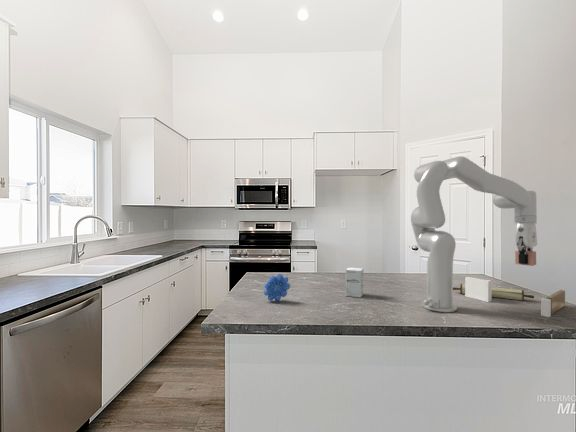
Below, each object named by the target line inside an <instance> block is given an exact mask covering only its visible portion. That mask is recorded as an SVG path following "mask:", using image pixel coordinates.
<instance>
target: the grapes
mask: <svg viewBox="0 0 576 432" xmlns="http://www.w3.org/2000/svg"><path fill="white" fill-rule="evenodd" d="M288 282H289V278H288V276H283V274H282V273H279V274H277V275H276V276H275V275H272V276H270V277H269V278H268V281H267V282H265V283H264V285H263V287H264V288H265V289H264V290H263V295H264V296H267V300H268V301H273V300H274V301H275V302H279V301H281V299H282V298H283V297H284V298H286V296H287V295H288V290H290V288H291V284H290V283H288Z"/></svg>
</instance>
